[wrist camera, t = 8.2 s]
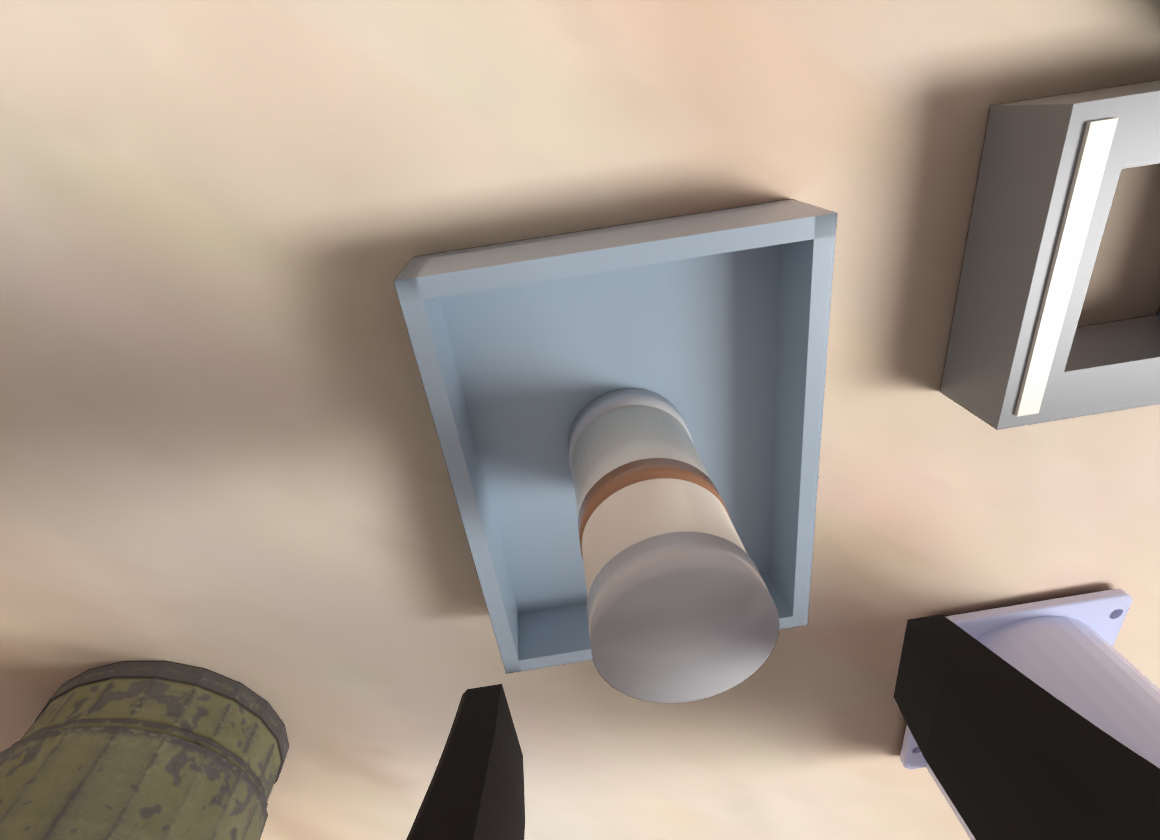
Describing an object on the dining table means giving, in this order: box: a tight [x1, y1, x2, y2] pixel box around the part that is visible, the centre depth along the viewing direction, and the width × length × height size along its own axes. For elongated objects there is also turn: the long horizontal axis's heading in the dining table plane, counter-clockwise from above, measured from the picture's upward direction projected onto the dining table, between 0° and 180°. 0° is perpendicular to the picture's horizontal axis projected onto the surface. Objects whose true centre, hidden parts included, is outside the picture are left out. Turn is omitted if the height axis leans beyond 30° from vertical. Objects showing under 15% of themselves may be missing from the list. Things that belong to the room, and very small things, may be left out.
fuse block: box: [940, 80, 1160, 430], centre depth 15 cm, size 8×8×3 cm
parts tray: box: [394, 199, 837, 674], centre depth 17 cm, size 13×10×2 cm
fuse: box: [568, 388, 780, 703], centre depth 14 cm, size 4×4×8 cm
